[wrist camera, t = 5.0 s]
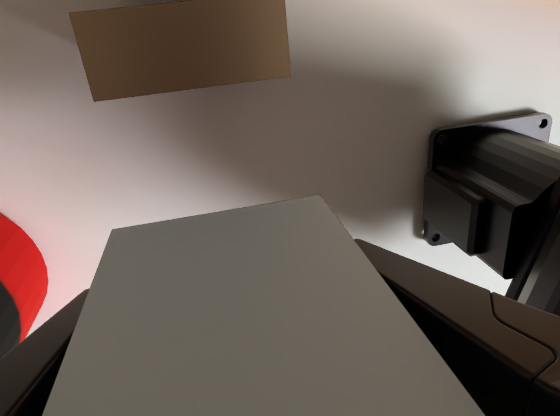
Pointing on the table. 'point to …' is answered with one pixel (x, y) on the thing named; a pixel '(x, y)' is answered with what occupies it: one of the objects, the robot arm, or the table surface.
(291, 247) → the domino
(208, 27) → the domino
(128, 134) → the table surface
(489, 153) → the robot arm
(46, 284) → the soda can
